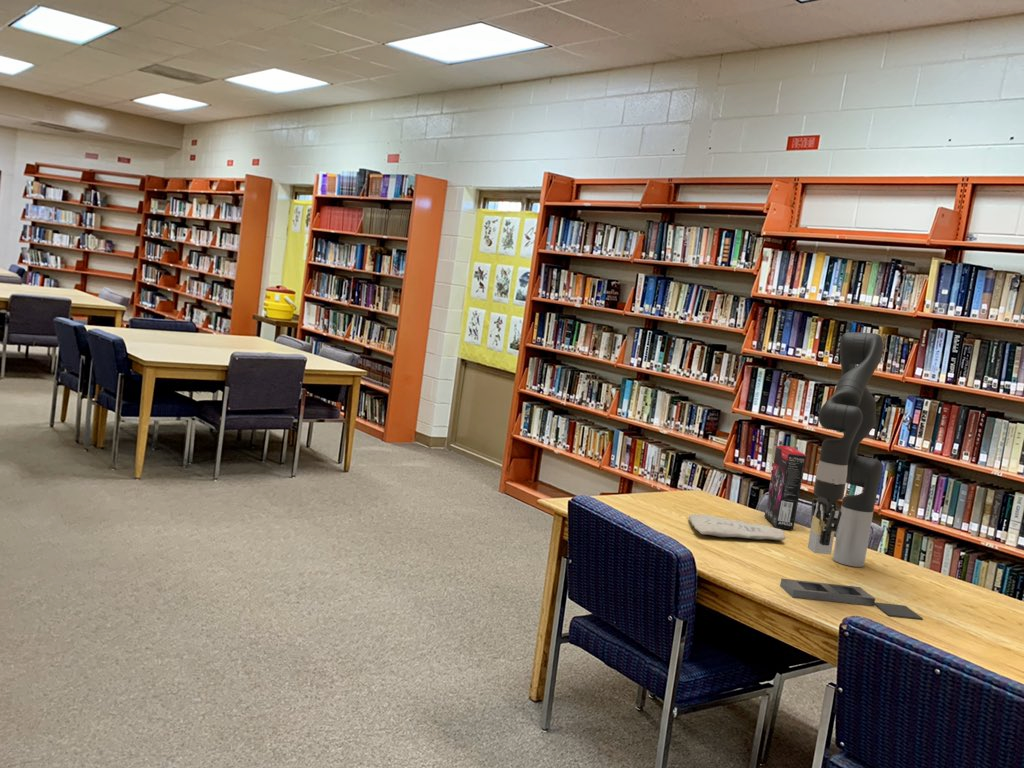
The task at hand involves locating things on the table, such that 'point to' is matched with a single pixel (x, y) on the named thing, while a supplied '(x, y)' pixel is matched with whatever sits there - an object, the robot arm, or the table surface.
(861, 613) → the table surface
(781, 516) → the graphics card box
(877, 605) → the mat
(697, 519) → the stone
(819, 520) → the block
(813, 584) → the grey slotted frame
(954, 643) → the table surface
